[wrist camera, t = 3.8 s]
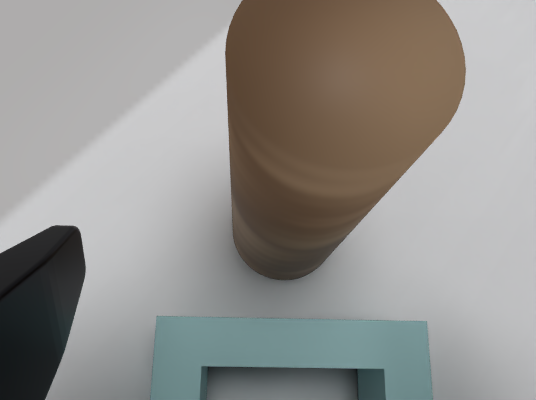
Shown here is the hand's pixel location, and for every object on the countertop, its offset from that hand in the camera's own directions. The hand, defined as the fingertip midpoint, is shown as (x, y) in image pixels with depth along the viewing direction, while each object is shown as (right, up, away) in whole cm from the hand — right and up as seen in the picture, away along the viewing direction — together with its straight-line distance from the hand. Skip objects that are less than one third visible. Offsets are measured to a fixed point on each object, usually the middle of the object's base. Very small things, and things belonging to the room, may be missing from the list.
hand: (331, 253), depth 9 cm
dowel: (-1, 0, +11) cm, 11 cm away
